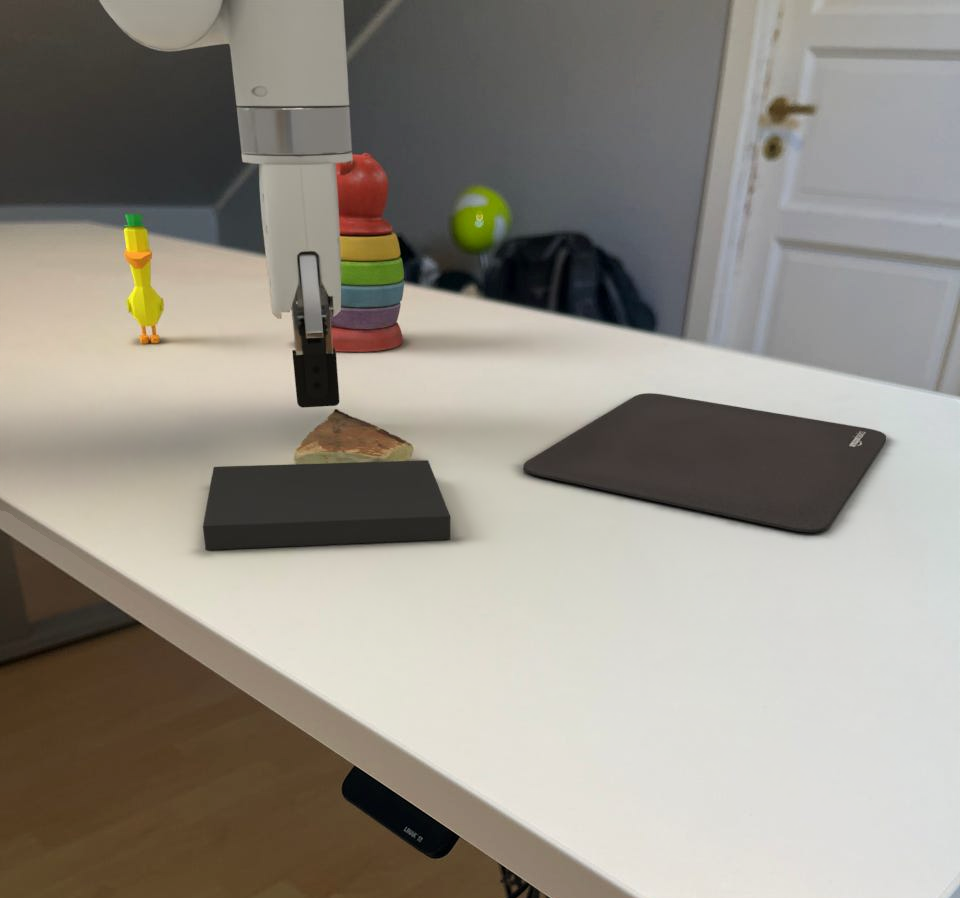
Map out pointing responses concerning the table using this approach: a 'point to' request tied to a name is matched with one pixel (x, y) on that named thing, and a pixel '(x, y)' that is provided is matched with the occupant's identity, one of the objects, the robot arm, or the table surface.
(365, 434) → the shard
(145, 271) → the toy figure
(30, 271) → the table surface
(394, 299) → the stacking bear
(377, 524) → the black rectangular block
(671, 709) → the table surface
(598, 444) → the mouse pad
